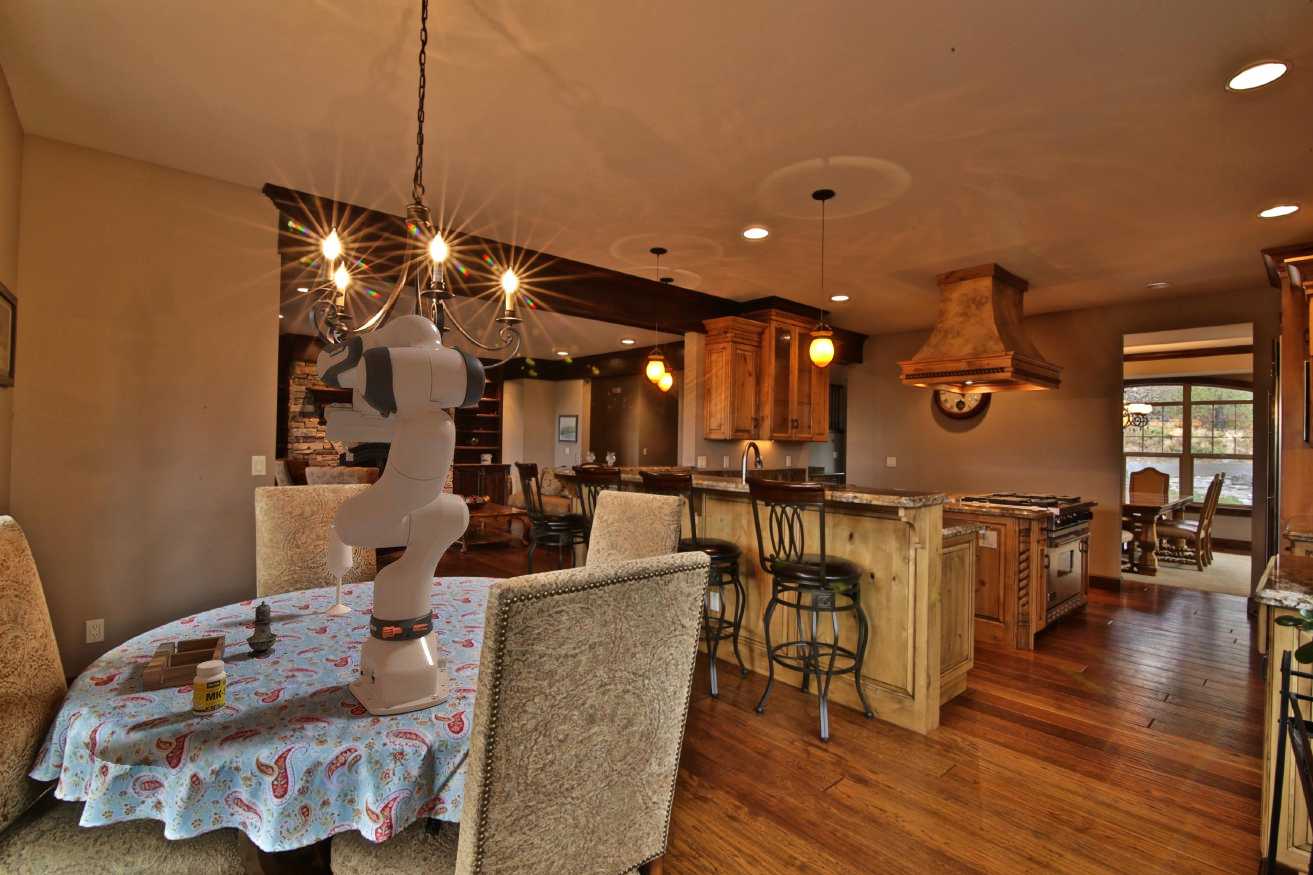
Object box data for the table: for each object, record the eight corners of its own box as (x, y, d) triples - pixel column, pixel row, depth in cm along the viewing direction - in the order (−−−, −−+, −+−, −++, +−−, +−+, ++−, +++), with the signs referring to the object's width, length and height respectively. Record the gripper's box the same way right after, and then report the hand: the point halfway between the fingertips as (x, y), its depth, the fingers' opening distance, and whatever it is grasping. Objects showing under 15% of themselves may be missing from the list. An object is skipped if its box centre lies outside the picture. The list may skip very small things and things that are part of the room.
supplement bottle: (205, 718, 106) (207, 670, 106) (185, 713, 107) (187, 667, 107) (231, 706, 111) (232, 660, 111) (212, 702, 112) (213, 657, 112)
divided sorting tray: (216, 679, 122) (216, 660, 122) (142, 691, 116) (143, 670, 116) (224, 651, 137) (225, 634, 137) (160, 659, 131) (160, 641, 131)
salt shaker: (240, 654, 135) (242, 601, 135) (267, 646, 141) (269, 595, 140) (255, 659, 133) (257, 605, 133) (282, 651, 138) (284, 599, 138)
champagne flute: (350, 606, 174) (352, 523, 174) (352, 612, 168) (355, 527, 168) (323, 609, 170) (326, 524, 170) (325, 615, 165) (327, 528, 165)
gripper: (325, 402, 140) (323, 461, 140) (418, 406, 150) (416, 461, 151) (324, 402, 145) (322, 459, 145) (413, 407, 156) (412, 460, 156)
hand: (371, 460), depth 148 cm, fingers open, 8 cm apart
